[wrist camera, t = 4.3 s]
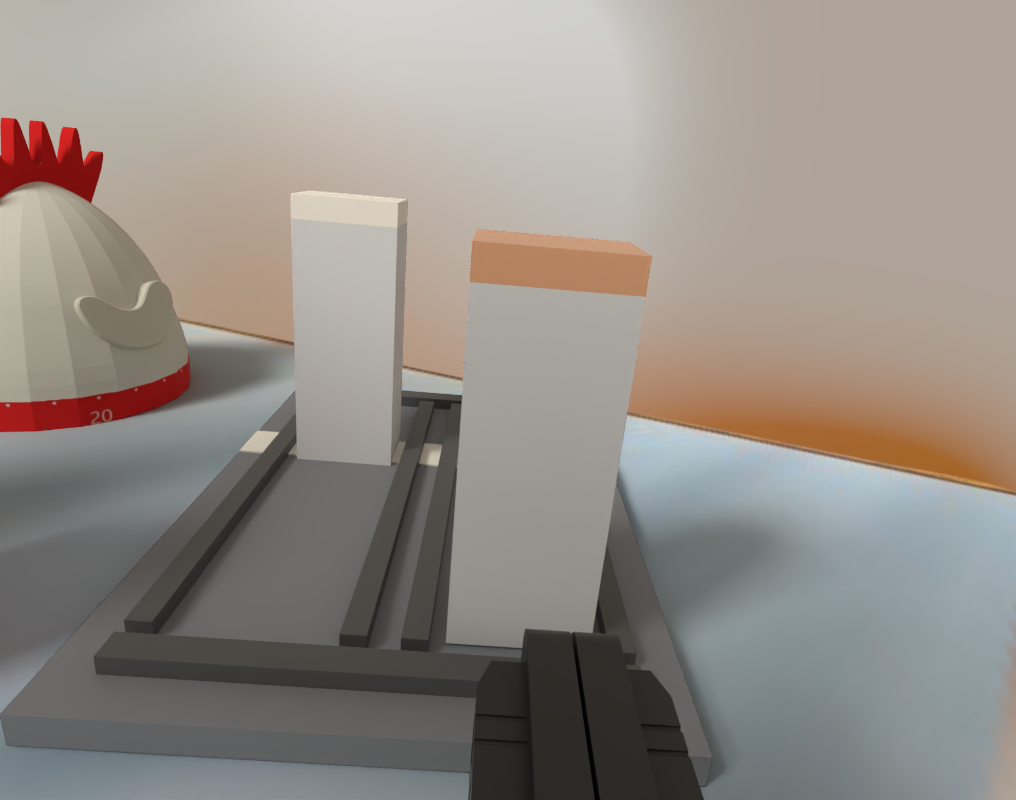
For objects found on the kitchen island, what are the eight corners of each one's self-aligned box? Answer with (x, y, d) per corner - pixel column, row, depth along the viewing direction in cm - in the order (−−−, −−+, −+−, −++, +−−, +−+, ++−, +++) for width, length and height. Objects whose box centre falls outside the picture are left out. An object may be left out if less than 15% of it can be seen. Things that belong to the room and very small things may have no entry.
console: (6, 745, 17) (-114, 216, 12) (297, 404, 40) (291, 181, 36) (705, 786, 17) (829, 297, 13) (589, 427, 41) (618, 210, 36)
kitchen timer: (237, 378, 44) (224, 138, 39) (40, 453, 32) (-17, 115, 27) (79, 344, 48) (48, 121, 43) (-153, 400, 35) (-235, 95, 30)
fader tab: (445, 643, 20) (472, 240, 16) (452, 583, 23) (477, 229, 19) (589, 652, 20) (651, 256, 16) (578, 592, 23) (629, 242, 19)
